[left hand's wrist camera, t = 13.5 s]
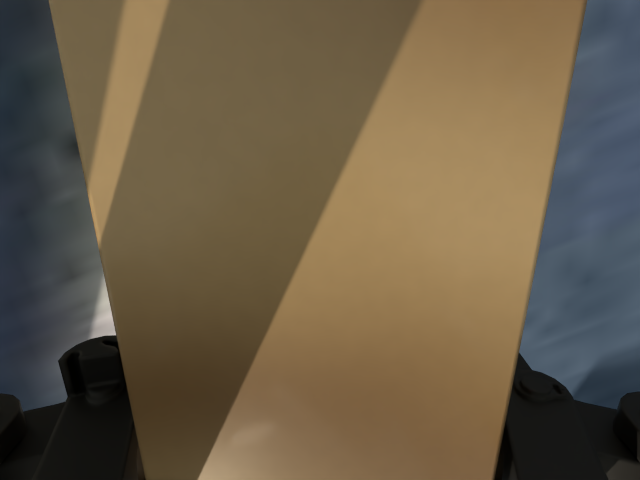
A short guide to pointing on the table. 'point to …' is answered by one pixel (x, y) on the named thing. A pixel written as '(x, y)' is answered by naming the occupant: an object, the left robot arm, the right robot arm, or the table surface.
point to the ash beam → (318, 222)
